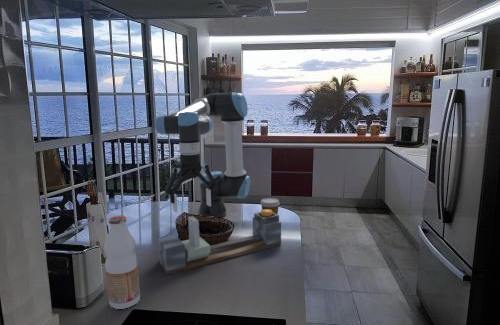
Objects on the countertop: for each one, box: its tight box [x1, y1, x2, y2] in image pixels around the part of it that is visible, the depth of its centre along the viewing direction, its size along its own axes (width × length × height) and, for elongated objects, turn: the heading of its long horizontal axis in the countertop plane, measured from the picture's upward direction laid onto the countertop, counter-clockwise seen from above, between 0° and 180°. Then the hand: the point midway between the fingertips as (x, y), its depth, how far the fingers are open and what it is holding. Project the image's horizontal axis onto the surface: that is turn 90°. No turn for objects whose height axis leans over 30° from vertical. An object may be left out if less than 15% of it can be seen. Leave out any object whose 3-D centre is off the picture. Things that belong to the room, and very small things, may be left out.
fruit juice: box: [103, 215, 141, 310], centre depth 112 cm, size 9×9×28 cm
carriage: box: [181, 215, 211, 262], centre depth 141 cm, size 10×9×15 cm
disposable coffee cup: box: [260, 197, 281, 215], centre depth 180 cm, size 10×10×12 cm
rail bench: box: [156, 211, 282, 275], centre depth 148 cm, size 12×50×12 cm, turn 120°
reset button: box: [260, 209, 272, 218], centre depth 157 cm, size 5×5×2 cm
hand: (192, 208), depth 139 cm, fingers open, 13 cm apart
